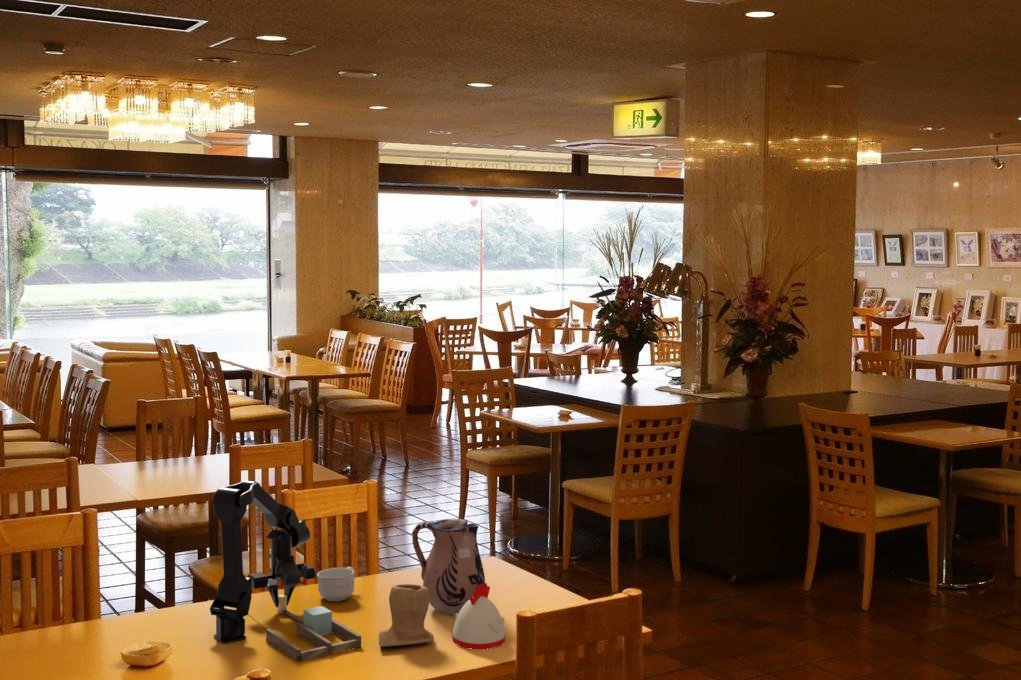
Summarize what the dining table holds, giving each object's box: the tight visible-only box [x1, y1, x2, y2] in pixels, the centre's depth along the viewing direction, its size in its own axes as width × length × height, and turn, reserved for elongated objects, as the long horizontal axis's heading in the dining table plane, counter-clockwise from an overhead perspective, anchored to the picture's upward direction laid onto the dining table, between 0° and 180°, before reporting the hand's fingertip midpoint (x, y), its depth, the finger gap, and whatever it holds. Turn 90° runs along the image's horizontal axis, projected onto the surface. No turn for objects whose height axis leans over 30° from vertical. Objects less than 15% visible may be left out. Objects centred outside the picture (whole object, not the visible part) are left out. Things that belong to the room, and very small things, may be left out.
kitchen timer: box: [452, 582, 506, 650], centre depth 293 cm, size 14×14×15 cm
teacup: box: [316, 566, 355, 602], centre depth 326 cm, size 14×11×8 cm
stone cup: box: [378, 583, 435, 648], centre depth 290 cm, size 15×12×15 cm
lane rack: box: [265, 618, 362, 663], centre depth 288 cm, size 18×18×3 cm
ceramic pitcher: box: [411, 518, 486, 615], centre depth 316 cm, size 18×21×25 cm
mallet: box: [277, 594, 333, 637], centre depth 304 cm, size 6×24×6 cm, turn 38°
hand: (281, 606), depth 313 cm, fingers closed on mallet, 3 cm apart
